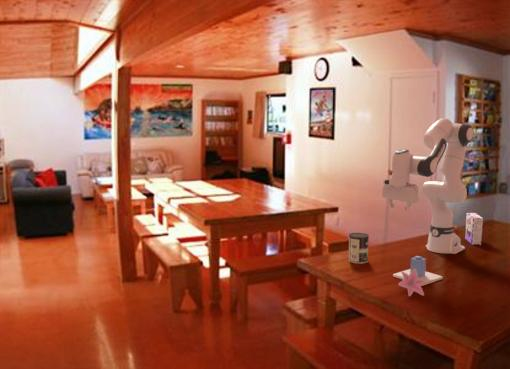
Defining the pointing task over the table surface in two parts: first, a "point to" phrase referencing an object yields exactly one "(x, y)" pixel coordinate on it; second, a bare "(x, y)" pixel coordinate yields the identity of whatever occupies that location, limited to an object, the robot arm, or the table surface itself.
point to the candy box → (474, 228)
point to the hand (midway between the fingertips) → (399, 208)
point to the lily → (412, 282)
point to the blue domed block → (418, 265)
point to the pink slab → (427, 278)
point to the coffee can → (358, 248)
